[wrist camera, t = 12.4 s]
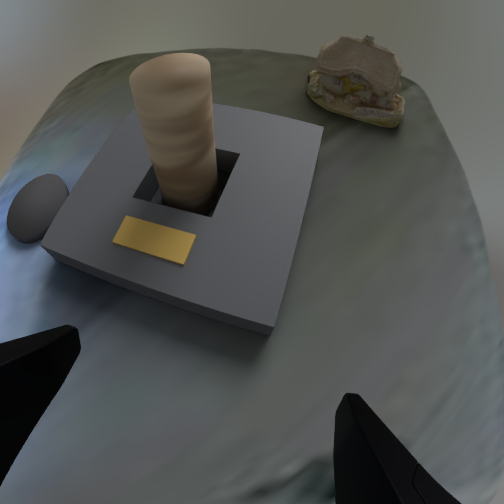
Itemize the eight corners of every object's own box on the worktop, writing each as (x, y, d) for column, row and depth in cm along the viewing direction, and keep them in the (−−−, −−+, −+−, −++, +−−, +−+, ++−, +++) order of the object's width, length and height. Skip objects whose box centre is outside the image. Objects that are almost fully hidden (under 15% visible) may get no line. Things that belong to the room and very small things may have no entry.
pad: (43, 252, 24) (38, 247, 23) (1, 232, 25) (-4, 228, 24) (82, 186, 27) (78, 180, 27) (37, 175, 28) (33, 170, 27)
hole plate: (270, 336, 22) (274, 326, 19) (55, 260, 24) (38, 243, 21) (318, 147, 31) (324, 125, 28) (149, 115, 32) (144, 94, 30)
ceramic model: (291, 99, 35) (301, 30, 26) (315, 67, 39) (325, 11, 30) (397, 141, 32) (427, 76, 23) (402, 100, 37) (424, 47, 28)
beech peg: (186, 229, 25) (154, 101, 14) (154, 196, 27) (116, 76, 15) (230, 196, 27) (227, 67, 16) (195, 167, 29) (180, 47, 17)
